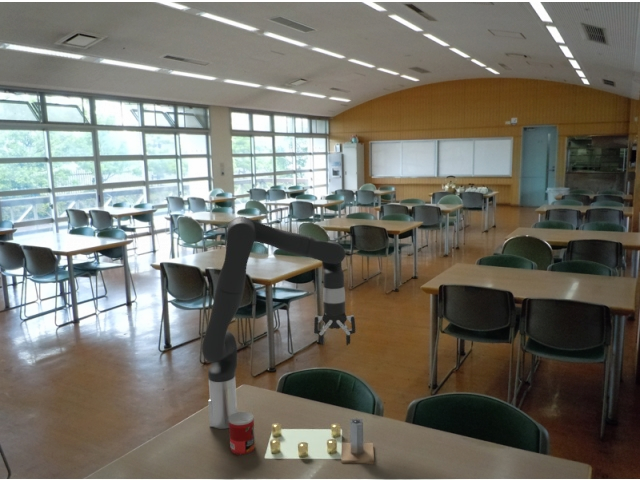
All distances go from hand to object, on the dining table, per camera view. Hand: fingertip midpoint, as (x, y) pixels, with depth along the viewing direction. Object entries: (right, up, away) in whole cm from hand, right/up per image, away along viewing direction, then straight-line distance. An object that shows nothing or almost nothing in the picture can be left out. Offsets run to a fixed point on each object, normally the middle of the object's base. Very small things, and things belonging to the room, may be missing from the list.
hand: (335, 344), depth 183 cm
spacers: (-10, -30, -12) cm, 34 cm away
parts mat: (-10, -30, -11) cm, 34 cm away
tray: (+6, -31, -18) cm, 36 cm away
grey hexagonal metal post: (+6, -30, -18) cm, 35 cm away
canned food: (-30, -31, -13) cm, 45 cm away
